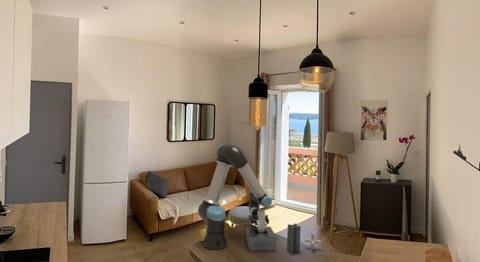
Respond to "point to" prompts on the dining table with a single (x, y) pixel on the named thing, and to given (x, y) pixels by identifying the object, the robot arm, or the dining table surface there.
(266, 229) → the bore block
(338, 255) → the dining table surface
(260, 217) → the square bit
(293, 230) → the cross bit
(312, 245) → the pipe connector
